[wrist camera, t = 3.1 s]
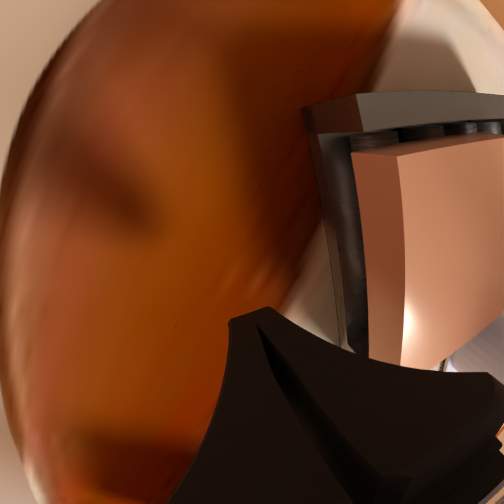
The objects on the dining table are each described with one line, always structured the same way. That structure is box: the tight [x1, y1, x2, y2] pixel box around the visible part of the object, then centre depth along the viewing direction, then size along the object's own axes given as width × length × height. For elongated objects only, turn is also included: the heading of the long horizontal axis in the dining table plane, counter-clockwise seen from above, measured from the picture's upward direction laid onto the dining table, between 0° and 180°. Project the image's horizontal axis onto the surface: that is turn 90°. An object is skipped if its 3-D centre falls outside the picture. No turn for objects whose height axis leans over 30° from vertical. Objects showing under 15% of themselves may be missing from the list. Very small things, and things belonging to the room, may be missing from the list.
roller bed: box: [301, 91, 504, 358], centre depth 13 cm, size 14×13×5 cm
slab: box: [351, 132, 504, 370], centre depth 11 cm, size 8×9×2 cm
